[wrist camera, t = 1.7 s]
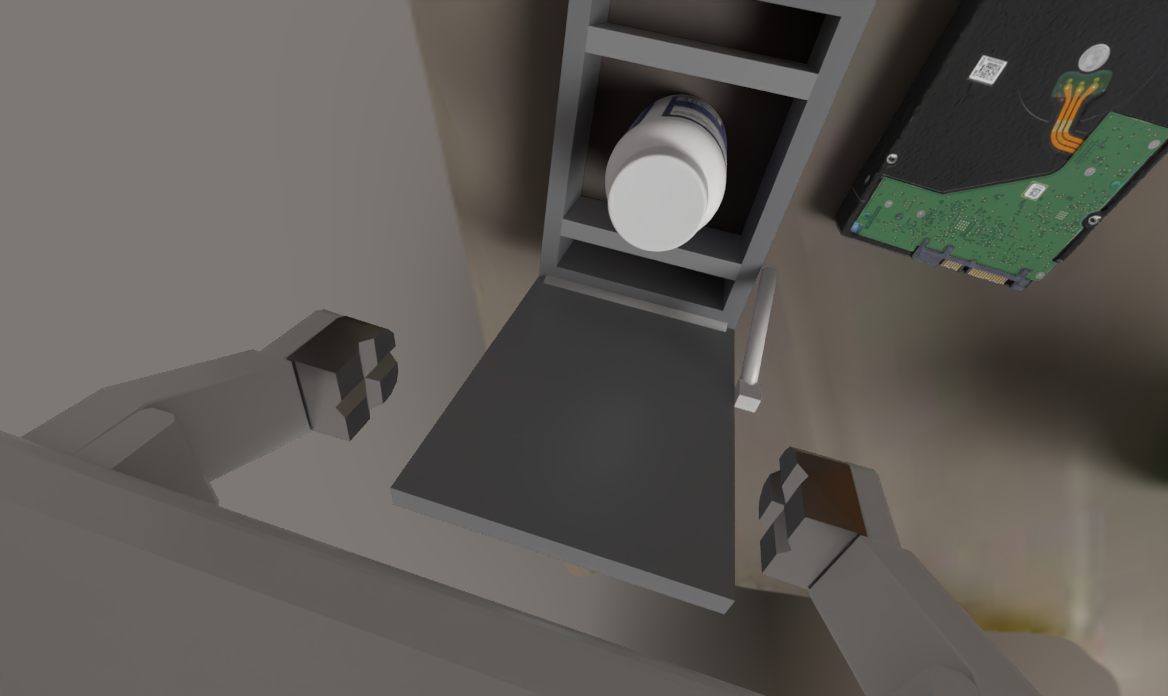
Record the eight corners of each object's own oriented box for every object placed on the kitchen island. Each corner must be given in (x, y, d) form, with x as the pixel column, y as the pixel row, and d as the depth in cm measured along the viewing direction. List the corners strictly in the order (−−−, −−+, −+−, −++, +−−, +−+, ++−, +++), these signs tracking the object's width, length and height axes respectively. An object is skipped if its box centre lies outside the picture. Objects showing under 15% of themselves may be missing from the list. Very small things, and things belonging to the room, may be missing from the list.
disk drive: (1028, -138, 18) (828, 220, 27) (1069, -158, 16) (837, 239, 25) (1313, -70, 18) (1012, 275, 27) (1396, -81, 15) (1037, 299, 24)
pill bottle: (644, 206, 29) (613, 279, 21) (616, 113, 27) (569, 160, 19) (736, 179, 27) (737, 251, 19) (716, 76, 24) (707, 112, 17)
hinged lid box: (598, -59, 22) (284, -192, 7) (882, -5, 21) (1312, -13, 5) (555, 263, 33) (392, 504, 17) (744, 312, 32) (754, 624, 16)
